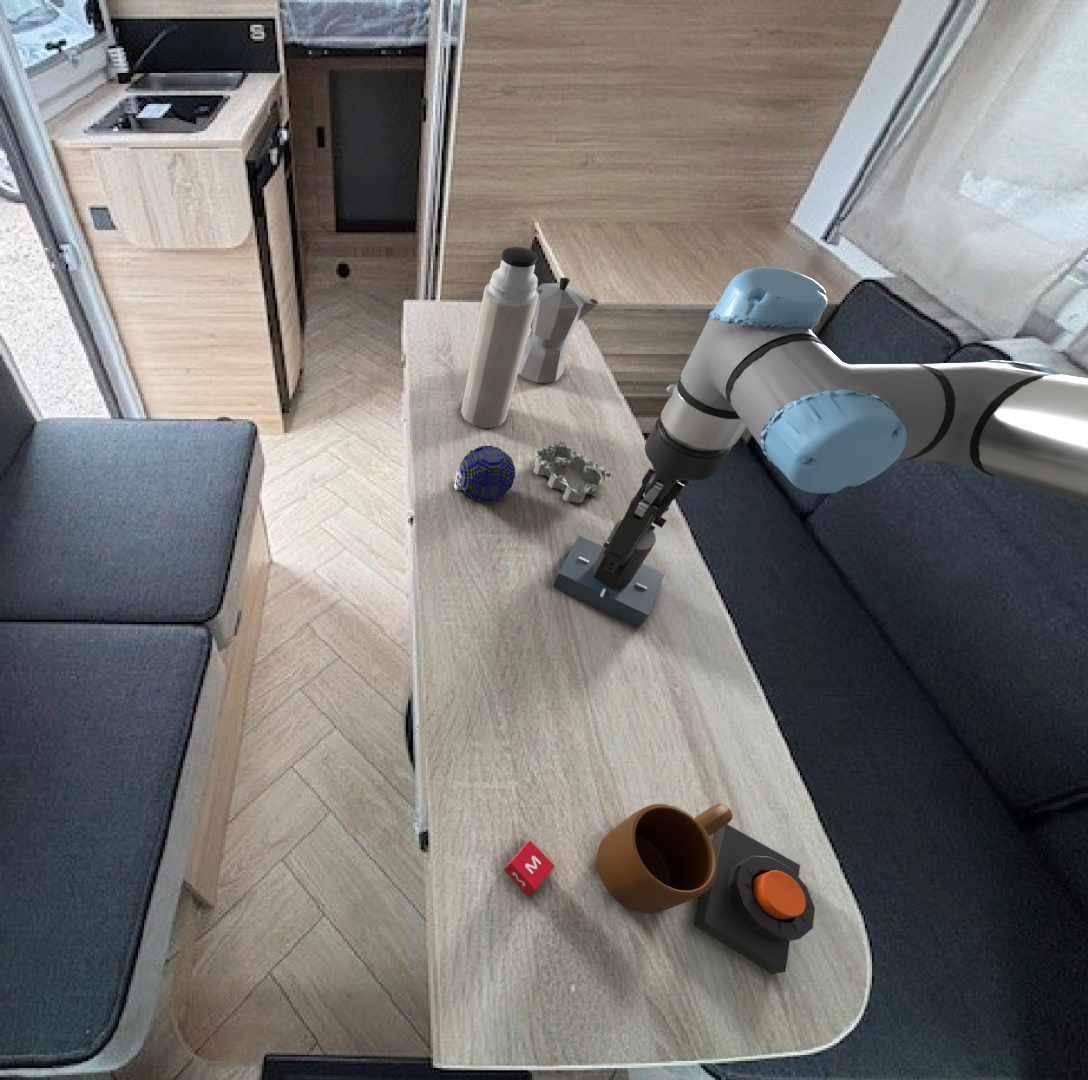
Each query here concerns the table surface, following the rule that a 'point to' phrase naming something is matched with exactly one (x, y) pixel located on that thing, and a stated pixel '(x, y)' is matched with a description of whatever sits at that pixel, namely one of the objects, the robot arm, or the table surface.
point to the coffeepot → (552, 330)
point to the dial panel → (619, 602)
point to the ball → (485, 473)
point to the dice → (529, 868)
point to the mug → (661, 857)
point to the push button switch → (750, 902)
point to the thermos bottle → (501, 338)
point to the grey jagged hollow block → (570, 471)
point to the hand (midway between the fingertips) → (614, 567)
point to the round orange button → (779, 895)
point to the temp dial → (636, 559)
